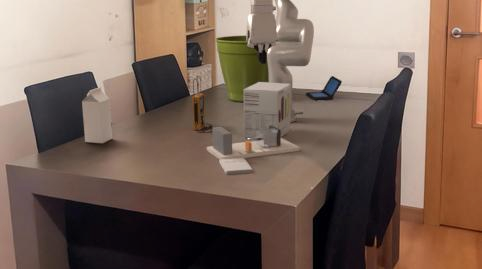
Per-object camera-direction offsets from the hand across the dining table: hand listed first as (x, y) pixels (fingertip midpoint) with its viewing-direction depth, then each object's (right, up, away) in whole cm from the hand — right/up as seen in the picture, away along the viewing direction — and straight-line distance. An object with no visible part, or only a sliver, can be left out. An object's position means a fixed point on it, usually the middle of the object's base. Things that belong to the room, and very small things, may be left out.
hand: (262, 63), depth 223 cm
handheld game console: (+32, -8, +79) cm, 85 cm away
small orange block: (-5, -30, -16) cm, 35 cm away
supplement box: (+3, -25, +12) cm, 28 cm away
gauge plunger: (0, -29, -10) cm, 31 cm away
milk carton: (-59, -28, +6) cm, 65 cm away
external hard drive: (-9, -36, -27) cm, 46 cm away
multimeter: (-20, -23, +22) cm, 37 cm away
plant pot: (-4, -8, +77) cm, 78 cm away
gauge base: (-3, -30, -10) cm, 32 cm away
